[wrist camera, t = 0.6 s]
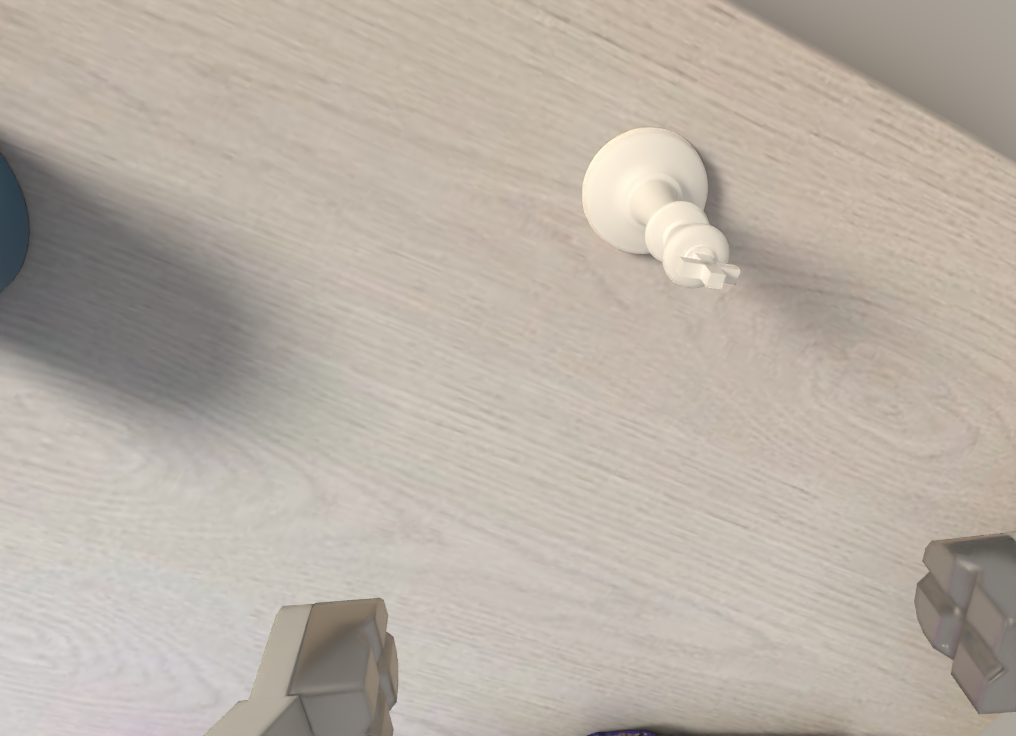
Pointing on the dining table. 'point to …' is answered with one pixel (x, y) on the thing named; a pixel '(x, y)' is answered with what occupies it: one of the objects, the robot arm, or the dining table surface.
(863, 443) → the dining table surface
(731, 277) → the chess piece
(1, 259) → the yogurt tub
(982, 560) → the robot arm
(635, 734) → the decorative bottle
